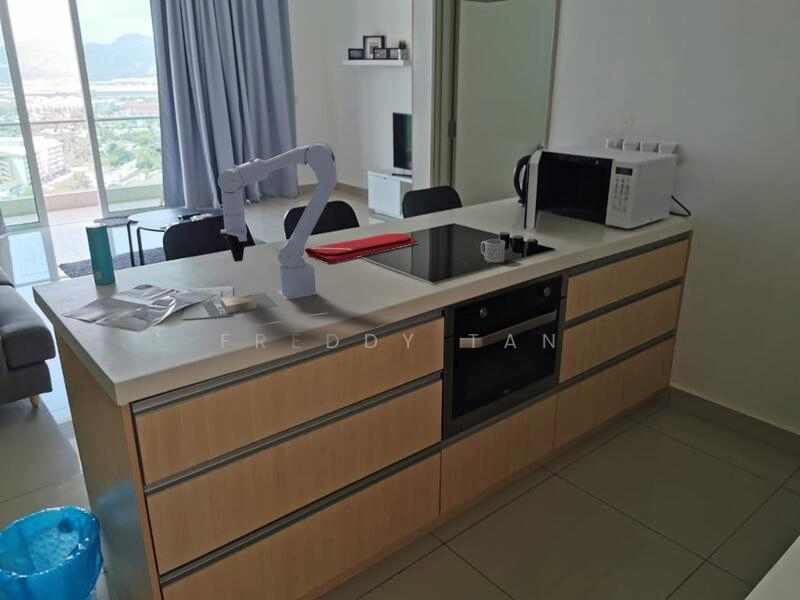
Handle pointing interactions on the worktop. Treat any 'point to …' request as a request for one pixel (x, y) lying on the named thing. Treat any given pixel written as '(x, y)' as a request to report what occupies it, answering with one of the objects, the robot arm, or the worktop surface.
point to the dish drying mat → (358, 247)
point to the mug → (493, 250)
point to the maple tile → (238, 303)
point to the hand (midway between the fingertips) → (238, 260)
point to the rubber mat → (261, 303)
